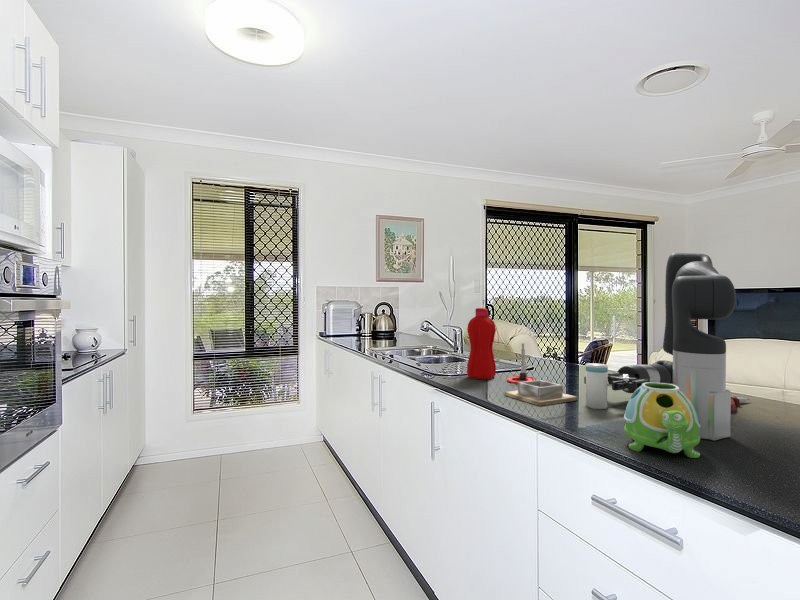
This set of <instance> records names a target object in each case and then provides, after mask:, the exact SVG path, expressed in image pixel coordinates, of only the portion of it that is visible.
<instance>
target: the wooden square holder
mask: <svg viewBox="0 0 800 600" xmlns="http://www.w3.org/2000/svg"><path fill="white" fill-rule="evenodd" d="M525 381H526V380H525ZM563 388H564V387H563V384H558V383H555V382H550V381H547V380H542V379H538V380H533V381H526V382H518V384H517V389H516V390H508V391H504V393H503V394H504V396H506V397H509V398H513V399H516V400H519V401H523V402H525V403H528V404H529V403H530V404H533V405H536V406H538V407H542V406H549V405H554V404H561V403H562V404H563V403H567V402H576V401H578V396H575V395H571V394H567V393H564V392H563Z"/></svg>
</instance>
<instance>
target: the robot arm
mask: <svg viewBox="0 0 800 600" xmlns="http://www.w3.org/2000/svg"><path fill="white" fill-rule="evenodd" d="M664 291H665V292H664V293H665V298H664V299H665V324H664V335H663V344H662V349H663V351H664V352H665V353H667V354H669V355H671V356H672V361H671V360H666V359H665V360H661V359H660V360H656V362H655V361H654V363H650V364H632V365H631V364H630V365H624V366H622V367H619V369H618V370H617V372H616V371H614V372H613V371H612V372H608V379H607V387H611V390H612V391H615V392H616V391H623V392H625V393H626V394H633V393H634V392H635V391H636V390H637V389H638V388H639V387H640V386H641V385H642V384H643V383H646V382H654V383H667V384H673V385H676V386H678V387H679V389H680V391H681V392H682V393H683V394H684V395H685V396H686V397H687V398H688V399H689V400H690V402H691V403H692V404H693V406H694V409H695V411H696V413H697V416H698V421H699V424H700V428H699V436H700V439H705V440H709V441H710V440H711V441H717V440H721V439H726V438H729V437H731V414H732V412H731V395H732V394H731V390H730V389H726V388H727V387H726V386H727V383H726V382H727V379H726V378H727V374H726V373H727V370H726V369H727V343H726V340H725V339H723V338H721V337H719V336H715V335H712V334H709V333H706V332H704V331H702V330H700V329H698V328H696V327H695V326H693V322H692V320H712V321H713V320H722V319H726V318H729V317H730V316H731V315H732V313H733V312H734V310H735V308H736V304H737V292H736V288H735V285H734V284H733V282H732V281H731V279H730V278H729V277H727V276H726V275H722V274H721V273H719V271H718V269H717V270H716V268H715V267H714V266H713V262H712V259H711V257H710V256H709V255H708V254H705V253H696V252H695V253H694V252H693V253H691V252H672V253H670V255H669V256H668V259H667V262H666V268H665V290H664ZM583 380H584V382H583V383H584V384H585V385H586V375H584V379H583Z"/></svg>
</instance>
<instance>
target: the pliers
mask: <svg viewBox="0 0 800 600" xmlns="http://www.w3.org/2000/svg"><path fill="white" fill-rule="evenodd" d="M749 401H751V399H750V398H744V397H741V396H740V397H739V396H736V395H732V396H731V413H734V412H735V411H736V408H737V407H740V404H743V403H746V402H749Z"/></svg>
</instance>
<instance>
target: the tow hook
mask: <svg viewBox="0 0 800 600" xmlns="http://www.w3.org/2000/svg"><path fill="white" fill-rule="evenodd" d="M520 351H521V353H520V356H521V359H520V360H521V366H520V373H519V374H517V375H516V374H514V375H513V376H510V377H508V378H506V381H507V383H509V384H514V385H518V382H526V381H534V376H529V375H528V372H527V365H526V349H525V343H523V342H522V343H521V349H520Z"/></svg>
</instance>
